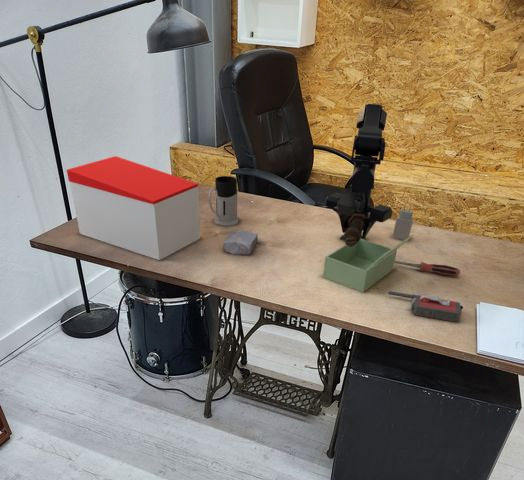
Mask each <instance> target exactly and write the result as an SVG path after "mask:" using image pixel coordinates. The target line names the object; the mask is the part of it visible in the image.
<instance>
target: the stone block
mask: <svg viewBox="0 0 524 480" xmlns="http://www.w3.org/2000/svg"><path fill="white" fill-rule="evenodd" d="M258 239H259V234H258V233H255V232H252V231H248V230H237V231H232V232H230V234H228V235H227V237H226V238H225V240H224V241H223V243H222V245H223V250H224V251H225V253H229V254H232V255H243V256H250V255H251V253H252V251H253V250H254V248H255V246H256V244H257V243H258Z"/></svg>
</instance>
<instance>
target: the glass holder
mask: <svg viewBox="0 0 524 480" xmlns="http://www.w3.org/2000/svg"><path fill="white" fill-rule="evenodd" d="M214 180H215V183H214V184H215V185H214V187H212V188H210V189H209V192H208V204H209V208H210V210H211V211H212V213H213V214H215V218H214V223H215V224H217V225H219V226H223V227H225V226H235V225H237V224H238V223H239V219H238V179H237V178H236V177H234V176H230V175H222V176H217V177H215V179H214ZM213 191H214V192H215V193H214V202H215V203H214V207H215V210H214V208H213V206H212V205H213V204H212V200H211V197H212V196H211V195H212V192H213Z"/></svg>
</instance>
